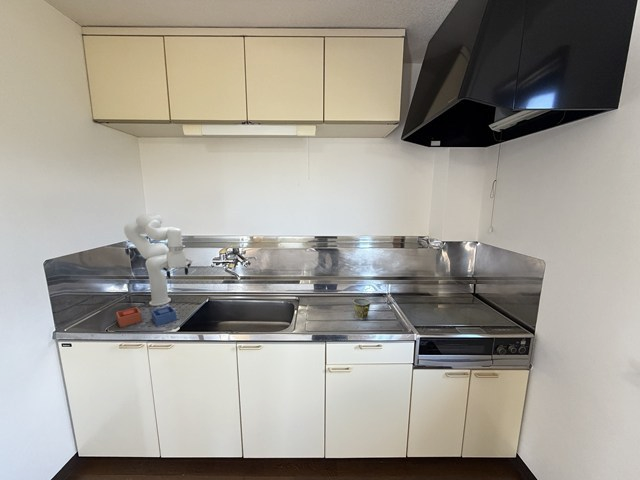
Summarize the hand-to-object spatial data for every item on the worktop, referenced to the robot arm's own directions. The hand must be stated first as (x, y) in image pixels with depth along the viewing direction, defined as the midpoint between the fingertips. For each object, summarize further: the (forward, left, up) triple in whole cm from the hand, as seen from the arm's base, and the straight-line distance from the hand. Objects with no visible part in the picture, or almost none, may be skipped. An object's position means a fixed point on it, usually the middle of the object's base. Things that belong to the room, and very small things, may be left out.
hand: (177, 275), depth 166 cm
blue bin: (+7, -11, -22) cm, 26 cm away
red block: (-4, -26, -22) cm, 34 cm away
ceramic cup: (+85, +74, -23) cm, 115 cm away
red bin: (-5, -26, -22) cm, 35 cm away
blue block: (+7, -11, -22) cm, 26 cm away
